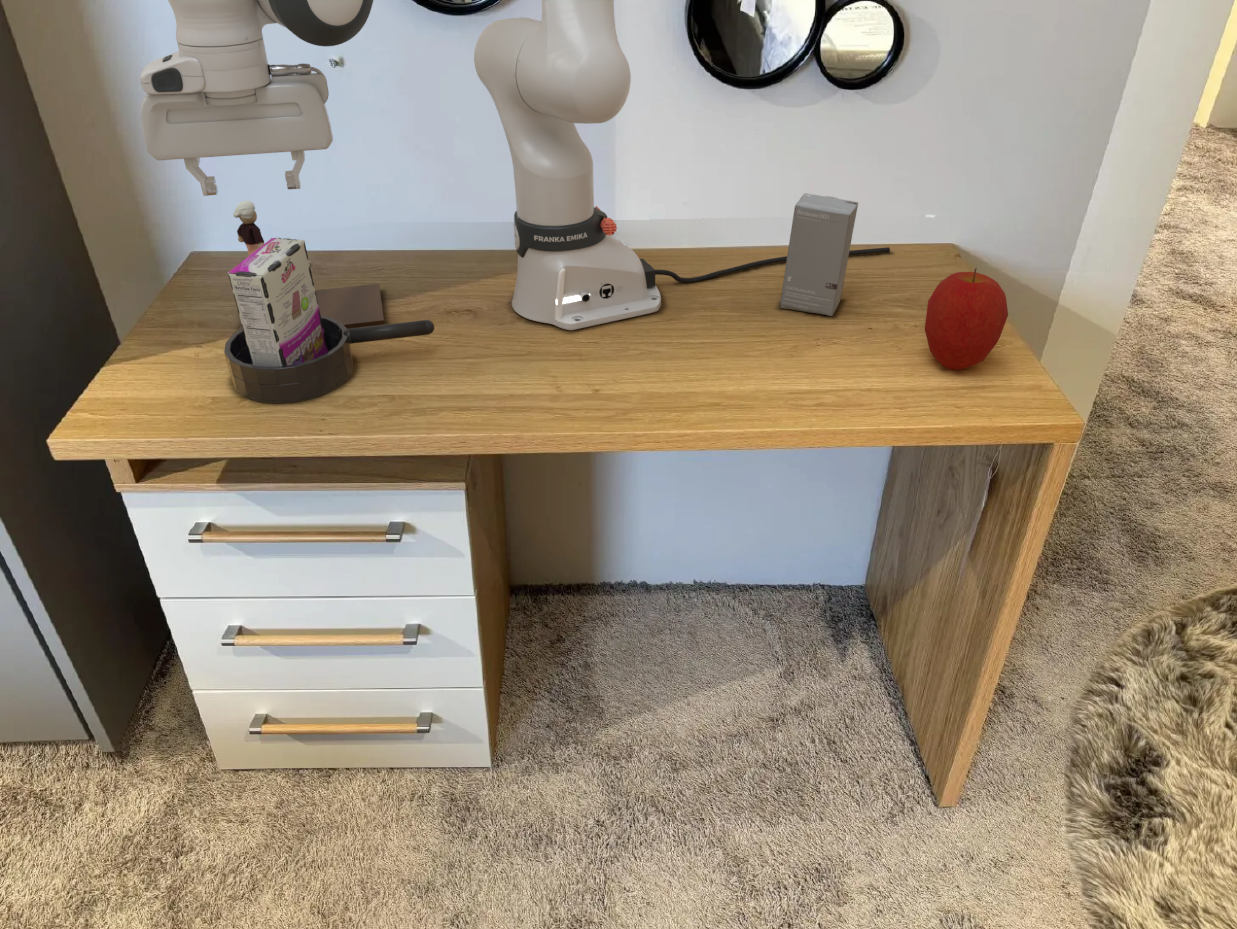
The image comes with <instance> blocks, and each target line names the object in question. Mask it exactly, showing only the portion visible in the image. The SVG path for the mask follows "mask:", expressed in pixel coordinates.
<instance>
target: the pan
mask: <svg viewBox="0 0 1237 929" xmlns="http://www.w3.org/2000/svg"><path fill="white" fill-rule="evenodd" d="M321 320H322V324H323V329H324V334H325V338H326V343H327V347H328V351H329V352H328V353H326V354H324V355H322V356H320V357H318V358H315V359H313V360H309V361H306V362H302V363H298V364H294V365H286V366H278V367H269V366H255V365H253V364H252V361H251V357H250V353H249V349H248V345H247V342H246V339H245V334H244V331H243V328H242V329H240V330H239V329H238V330H237V331H236V332H234V333H232V335H231V336H230V337H229V338H228V339H227V340H226V341H225V344H224V351H223V352H224V353H223V354H224V357H225V361H226V365H227V367H228V372H229V375H230V379H231V383H232V384H233V387H234V390H235V391H236V392H237V393H238V394H239V395H241V396H242V397H243V398H246V399H248V400H250V401H255V402H258V403H263V404H293V403H299V402H304V401H309V400H312V399H315V398H319V397H321V396H324V395H326V394H329V393H331V392H333V391H335V390H336V389H338V388H339V387H341V386H342V385H344V384H345V383H346V382H347V381H348V380H349V379H350V378H351V376H352V375H353V372H354V361H353V353H352V347H351V344H349V341H348V336H346V335H344V334H343V332H344V331H345V330H346V329H347V328H346V327H345V326H344V325H343V324H342V323H341V322H339V321H337V320H335V319H333V318H331V317H327V316H321Z"/></svg>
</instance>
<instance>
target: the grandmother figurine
mask: <svg viewBox="0 0 1237 929" xmlns="http://www.w3.org/2000/svg"><path fill="white" fill-rule="evenodd" d="M255 209H256V207H255V203H253V202H252V201H251V200H243V201H240V202H239V203H238V204H237V205H236V207H235V209H234V212H233V217H234V218H236V219H238V218H239V220H240V221H241V222H242V223H241V224H240V225H239V226H238V228H237V229H236V233H237V240H238V242H239V243H244V245H245V246H246V249H247V254H248V256H250V255H251V254H252V253H253V252H255V251H256V250H257V249H258V248H260V247H261V246H262V245H264V244H265V240H264V237H263V236H262V232H261V228H259V226H258V225H257V224H255V222H257V220H258V215H257V212H256V210H255Z"/></svg>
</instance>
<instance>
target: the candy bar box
mask: <svg viewBox="0 0 1237 929" xmlns="http://www.w3.org/2000/svg"><path fill="white" fill-rule="evenodd" d="M227 276H228V280H229V283H230V286H231V289H232V290H231V291H232V295H233V297H234V301H235V305H236V309H237V313H238V316H239V321H240V320H241V323H242V326H243V331H244V334H245V339H246V342H247V345H248V349H249V353H250V357H251V361H252V364H253V365H255V366H269V367H278V366H286V365H294V364H298V363H302V362H306V361H309V360H313V359H315V358H318V357H320V356H322V355H324V354H326V353H328V352H329V351H328V347H327V343H326V338H325V334H324V329H323V324H322V320H321V315H320V311H319V305H318V301H317V297H316V291H315V290H316V287H315V283H314V277H313V274H312V270H311V264H310V259H309V255H308V251H307V246H306V240H305V239H295V238H282V237H271V238H270V239H268V240H267V241H266V242H264V245H262V246H261V247H260V248H258V249H257V250H256V251H255V252H253V253H252V254H251V255H250V256H249V255H248V256H246V258H244V259H243V260H242V261H241V262H239V263H238V264H237V265H235V266H234V267H233V268H231V269H230V270H229V271H227Z"/></svg>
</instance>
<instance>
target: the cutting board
mask: <svg viewBox="0 0 1237 929" xmlns="http://www.w3.org/2000/svg"><path fill="white" fill-rule="evenodd" d="M315 291H316V297H317V301H318V305H319V311H320V315H321V316H327V317H331V318H333V319H335V320H337V321H339V322H341V323H342V324H343V325H344V326H345V327H346V328H347V329H350V328H359V327H367V326H376V325H385V316H384V309H383V302H382V295H381V287H380V283H372V284H362V285H351V286H343V287H333V288H323V289H315ZM242 328H243V326H242V323H241V320H240V319H239V325H238V331H239V330H240V329H242Z"/></svg>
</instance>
